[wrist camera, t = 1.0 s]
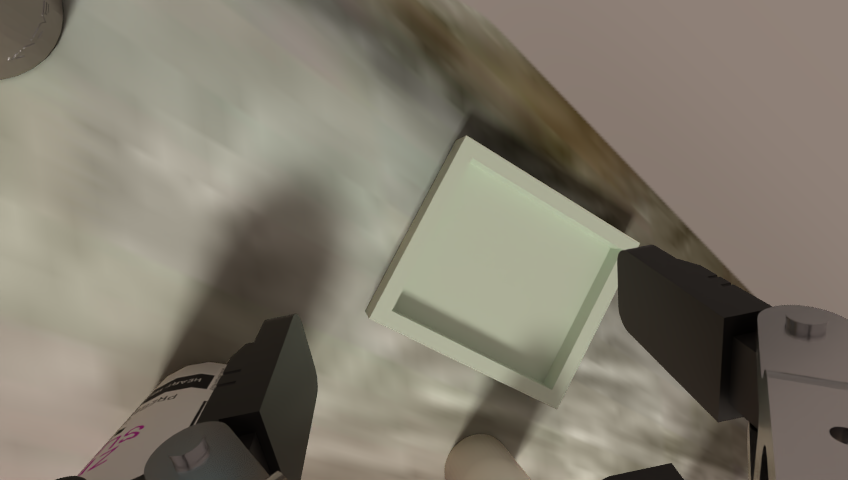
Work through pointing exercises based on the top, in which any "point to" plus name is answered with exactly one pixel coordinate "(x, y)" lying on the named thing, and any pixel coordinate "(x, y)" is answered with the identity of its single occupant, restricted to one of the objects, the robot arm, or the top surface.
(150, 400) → the supplement can
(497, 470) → the white domed cylinder
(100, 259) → the top surface
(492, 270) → the tray
